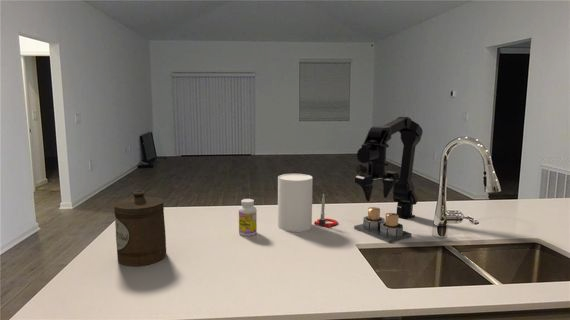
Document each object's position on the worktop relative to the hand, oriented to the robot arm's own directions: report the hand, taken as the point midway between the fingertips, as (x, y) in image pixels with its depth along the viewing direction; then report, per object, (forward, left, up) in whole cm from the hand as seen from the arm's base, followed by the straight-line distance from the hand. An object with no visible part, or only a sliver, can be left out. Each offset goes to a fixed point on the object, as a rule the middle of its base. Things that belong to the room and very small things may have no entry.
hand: (376, 199), depth 156 cm
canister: (+26, -19, -12) cm, 34 cm away
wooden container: (+85, -19, -12) cm, 87 cm away
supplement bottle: (+46, -21, -12) cm, 52 cm away
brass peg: (+2, 0, -11) cm, 11 cm away
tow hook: (+13, -15, -12) cm, 23 cm away
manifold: (+2, +5, -12) cm, 13 cm away
